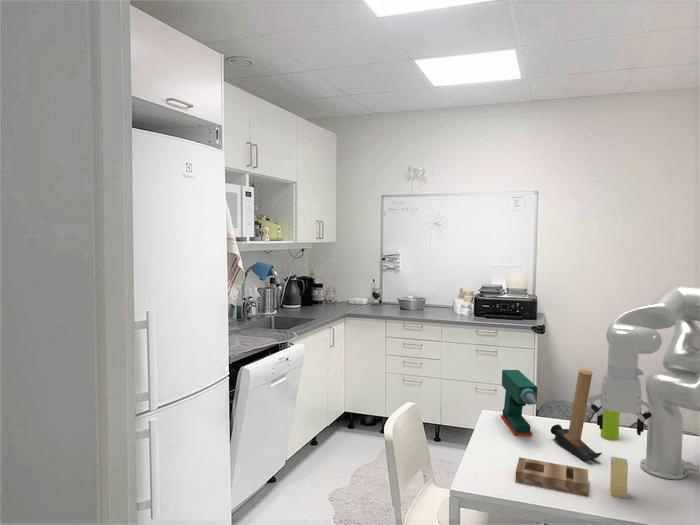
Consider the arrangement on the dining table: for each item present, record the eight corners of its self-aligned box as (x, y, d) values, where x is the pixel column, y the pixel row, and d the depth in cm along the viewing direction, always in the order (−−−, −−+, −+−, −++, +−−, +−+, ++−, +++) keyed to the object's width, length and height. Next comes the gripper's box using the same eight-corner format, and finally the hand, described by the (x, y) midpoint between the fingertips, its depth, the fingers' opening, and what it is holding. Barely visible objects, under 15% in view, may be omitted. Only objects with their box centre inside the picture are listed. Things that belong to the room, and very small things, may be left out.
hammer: (599, 468, 167) (614, 386, 160) (585, 470, 166) (601, 387, 158) (561, 433, 186) (573, 358, 179) (549, 435, 185) (561, 359, 177)
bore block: (587, 480, 155) (587, 469, 154) (588, 496, 146) (588, 484, 145) (519, 467, 163) (519, 457, 163) (515, 482, 154) (515, 470, 154)
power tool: (547, 452, 174) (548, 395, 173) (526, 452, 174) (527, 395, 173) (518, 417, 206) (519, 369, 204) (500, 417, 206) (501, 369, 205)
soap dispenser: (621, 436, 187) (623, 383, 186) (616, 442, 182) (618, 387, 181) (604, 431, 191) (605, 380, 190) (598, 437, 186) (600, 384, 185)
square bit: (625, 492, 148) (626, 459, 147) (626, 498, 144) (627, 464, 143) (610, 489, 149) (611, 456, 149) (610, 495, 146) (612, 462, 145)
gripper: (655, 372, 144) (652, 431, 145) (588, 365, 151) (586, 421, 152) (659, 379, 137) (656, 441, 138) (588, 371, 144) (586, 430, 145)
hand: (619, 430), depth 145 cm, fingers open, 9 cm apart
